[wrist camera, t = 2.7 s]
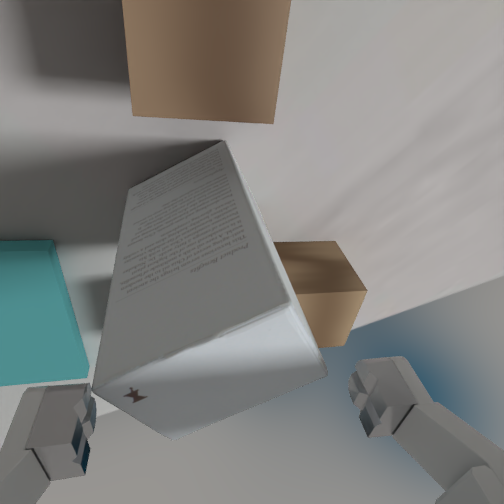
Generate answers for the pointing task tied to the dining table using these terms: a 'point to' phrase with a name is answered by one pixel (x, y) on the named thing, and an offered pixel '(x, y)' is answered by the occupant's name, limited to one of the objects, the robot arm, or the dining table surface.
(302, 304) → the light brown wooden cube
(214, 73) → the walnut block
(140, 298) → the skincare box
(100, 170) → the dining table surface
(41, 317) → the teal mat
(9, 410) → the dining table surface
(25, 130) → the dining table surface
